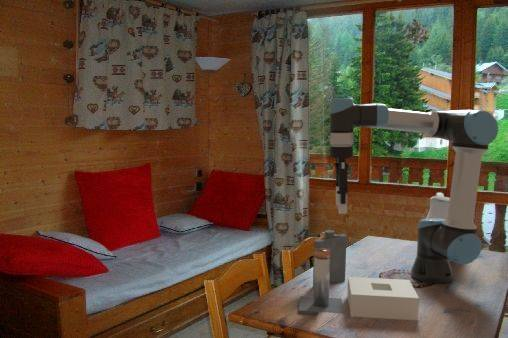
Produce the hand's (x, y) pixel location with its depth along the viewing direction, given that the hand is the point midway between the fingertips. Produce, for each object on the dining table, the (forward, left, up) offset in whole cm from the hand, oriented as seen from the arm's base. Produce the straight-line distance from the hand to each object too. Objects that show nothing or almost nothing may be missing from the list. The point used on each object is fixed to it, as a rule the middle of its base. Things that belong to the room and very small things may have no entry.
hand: (341, 209), depth 160 cm
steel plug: (+6, +8, -30) cm, 32 cm away
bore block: (-13, +8, -31) cm, 35 cm away
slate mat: (+6, +8, -31) cm, 33 cm away
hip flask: (+3, -15, -32) cm, 35 cm away
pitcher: (-47, -58, -31) cm, 81 cm away
